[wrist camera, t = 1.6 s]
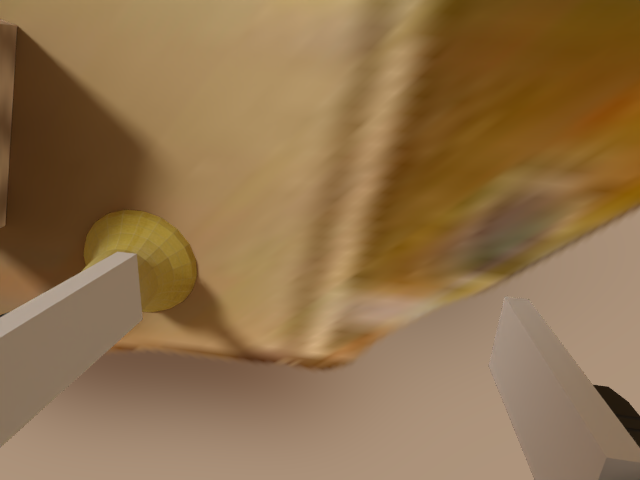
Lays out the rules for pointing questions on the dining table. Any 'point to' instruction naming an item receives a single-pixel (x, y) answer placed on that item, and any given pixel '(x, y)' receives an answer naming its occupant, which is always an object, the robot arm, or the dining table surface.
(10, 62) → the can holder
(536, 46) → the dining table surface
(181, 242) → the handbell
